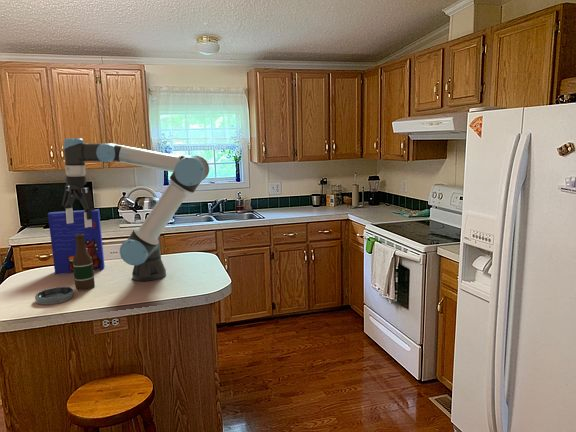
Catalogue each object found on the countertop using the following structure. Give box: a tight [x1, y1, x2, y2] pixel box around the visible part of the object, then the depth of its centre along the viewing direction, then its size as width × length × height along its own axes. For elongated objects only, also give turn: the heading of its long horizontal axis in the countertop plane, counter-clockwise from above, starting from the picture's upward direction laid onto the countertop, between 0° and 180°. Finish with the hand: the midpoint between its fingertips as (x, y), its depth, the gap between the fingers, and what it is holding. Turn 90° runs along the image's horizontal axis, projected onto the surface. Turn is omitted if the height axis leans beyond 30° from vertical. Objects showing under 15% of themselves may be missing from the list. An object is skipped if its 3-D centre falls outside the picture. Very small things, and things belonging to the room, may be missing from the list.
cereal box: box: [47, 208, 105, 275], centre depth 210 cm, size 22×6×30 cm, turn 109°
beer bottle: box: [73, 234, 95, 291], centre depth 184 cm, size 8×8×24 cm
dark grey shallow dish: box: [34, 286, 74, 306], centre depth 173 cm, size 13×13×3 cm
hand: (79, 225), depth 182 cm, fingers open, 13 cm apart
